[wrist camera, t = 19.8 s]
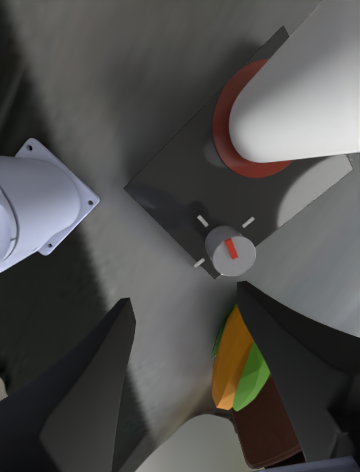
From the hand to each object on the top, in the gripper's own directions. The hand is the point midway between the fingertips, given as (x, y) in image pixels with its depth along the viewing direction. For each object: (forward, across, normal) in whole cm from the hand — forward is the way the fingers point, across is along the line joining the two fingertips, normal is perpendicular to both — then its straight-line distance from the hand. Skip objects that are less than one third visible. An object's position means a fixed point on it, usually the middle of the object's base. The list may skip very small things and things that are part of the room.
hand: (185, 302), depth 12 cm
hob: (+10, -7, -7) cm, 14 cm away
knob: (+8, -5, 0) cm, 9 cm away
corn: (+11, -6, +17) cm, 21 cm away
